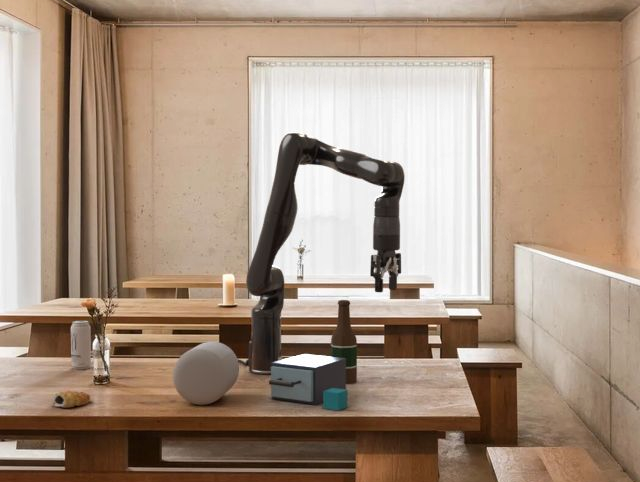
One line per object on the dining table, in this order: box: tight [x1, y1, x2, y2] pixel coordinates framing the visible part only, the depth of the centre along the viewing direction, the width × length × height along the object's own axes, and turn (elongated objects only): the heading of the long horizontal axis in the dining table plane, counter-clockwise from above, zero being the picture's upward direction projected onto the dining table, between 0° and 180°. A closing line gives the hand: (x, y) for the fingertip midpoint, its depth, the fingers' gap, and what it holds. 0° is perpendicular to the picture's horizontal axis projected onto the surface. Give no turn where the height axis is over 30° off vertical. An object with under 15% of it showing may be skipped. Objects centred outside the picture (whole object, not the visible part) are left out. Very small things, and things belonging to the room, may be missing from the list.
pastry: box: [51, 390, 91, 409], centre depth 214 cm, size 9×7×4 cm
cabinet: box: [271, 353, 347, 405], centre depth 224 cm, size 16×14×10 cm
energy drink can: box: [70, 320, 92, 371], centre depth 264 cm, size 6×6×15 cm
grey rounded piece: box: [159, 341, 240, 406], centre depth 223 cm, size 19×15×25 cm
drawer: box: [268, 366, 313, 402], centre depth 220 cm, size 20×13×8 cm, turn 149°
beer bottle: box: [330, 299, 358, 385], centre depth 243 cm, size 8×8×24 cm
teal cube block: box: [322, 388, 348, 411], centre depth 211 cm, size 4×4×4 cm
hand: (385, 290), depth 232 cm, fingers open, 8 cm apart
